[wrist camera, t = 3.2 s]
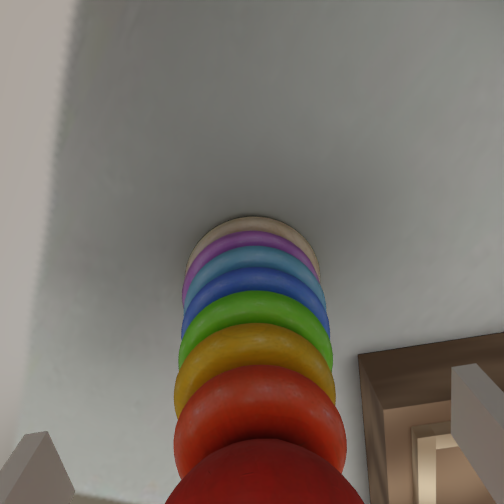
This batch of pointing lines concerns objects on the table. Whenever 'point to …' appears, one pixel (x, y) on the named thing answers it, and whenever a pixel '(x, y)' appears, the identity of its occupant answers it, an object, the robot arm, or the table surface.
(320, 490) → the stacking toy
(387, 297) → the table surface
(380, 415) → the plinth
